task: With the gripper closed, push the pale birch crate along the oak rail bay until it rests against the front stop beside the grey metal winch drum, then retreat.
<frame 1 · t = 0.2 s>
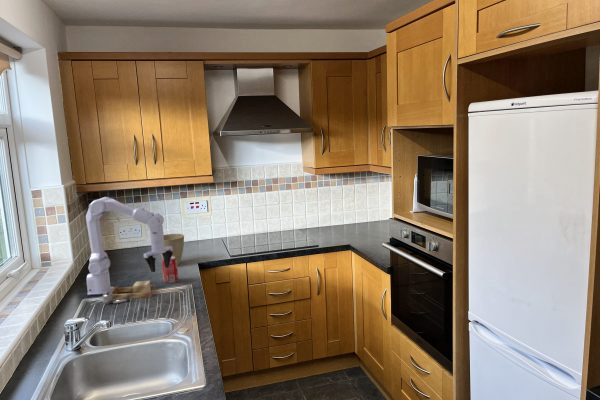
hand: (160, 269, 209), 10 cm above the worktop, fingers open, 7 cm apart
soda can: (171, 281, 222), on the worktop
crank handle: (120, 302, 197), on the worktop
crate: (141, 288, 206), point 3 cm above the worktop, slide at 0.0 cm
plant pot: (172, 265, 250), on the worktop
bay: (133, 294, 206), on the worktop
winch drum: (108, 302, 197), on the worktop
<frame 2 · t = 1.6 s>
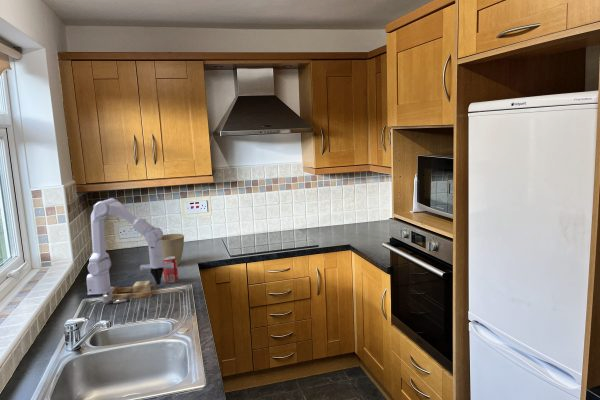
hand: (158, 284, 206), 4 cm above the worktop, fingers closed
nothing on the worktop moved.
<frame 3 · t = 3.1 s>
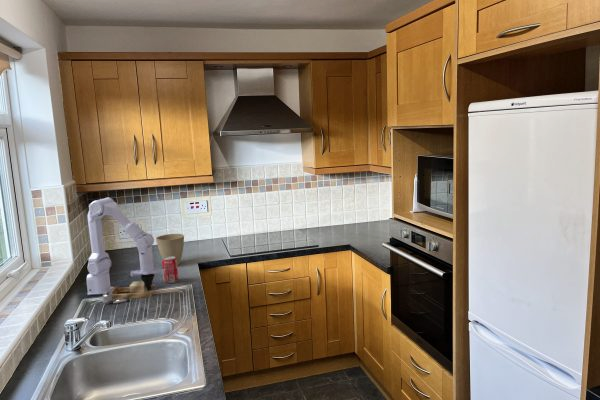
hand: (149, 290, 206), 2 cm above the worktop, fingers closed
crate: (138, 288, 206), point 3 cm above the worktop, slide at 1.5 cm, touching gripper
everything else where it was.
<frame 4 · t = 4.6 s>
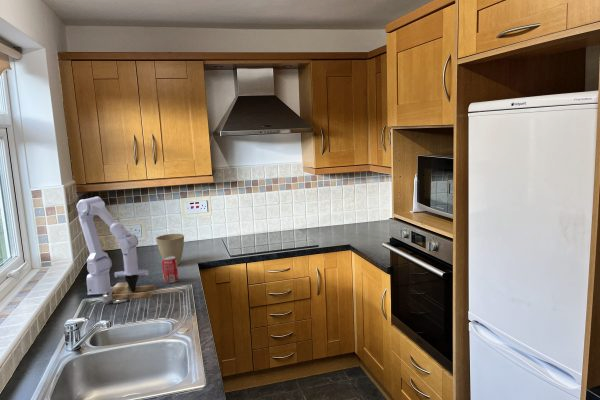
hand: (133, 291, 206), 2 cm above the worktop, fingers closed
crate: (122, 289, 205), point 3 cm above the worktop, slide at 8.5 cm, touching gripper
everything else where it was.
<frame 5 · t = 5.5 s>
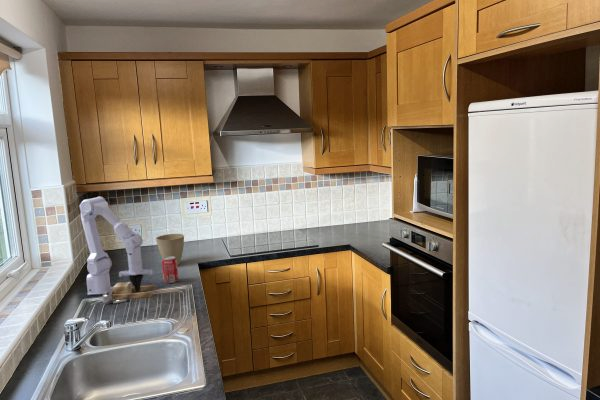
hand: (137, 290, 206), 2 cm above the worktop, fingers closed
crate: (122, 289, 205), point 3 cm above the worktop, slide at 8.6 cm
everything else where it was.
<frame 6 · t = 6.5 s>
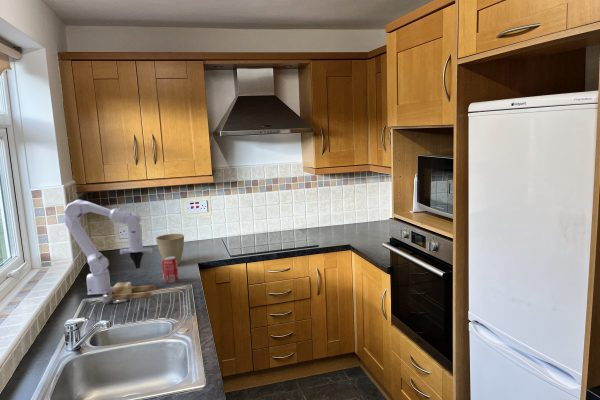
hand: (138, 267, 213), 10 cm above the worktop, fingers closed
nothing on the worktop moved.
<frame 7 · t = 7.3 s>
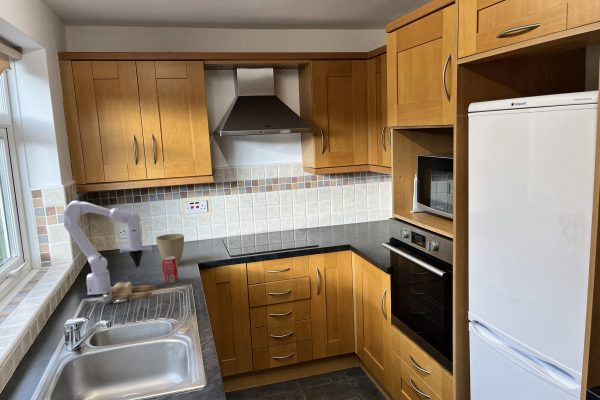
hand: (137, 266, 215), 10 cm above the worktop, fingers closed
nothing on the worktop moved.
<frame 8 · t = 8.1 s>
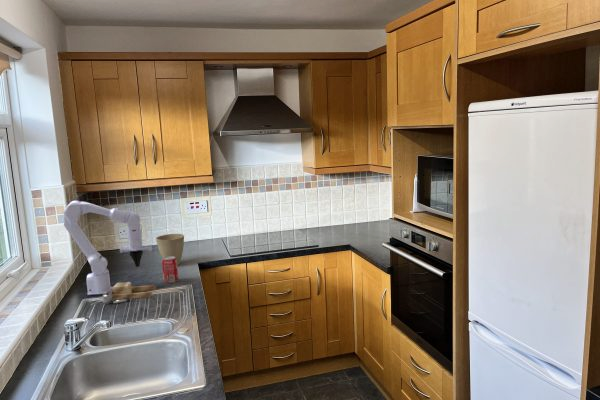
hand: (137, 266, 215), 10 cm above the worktop, fingers closed
nothing on the worktop moved.
at the end: crate slide at 8.6 cm; crate 0.3 cm from the target spot, resting in bay; crate touching nothing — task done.
